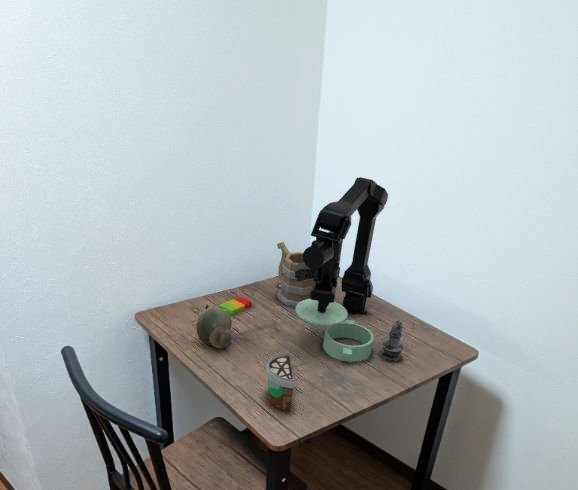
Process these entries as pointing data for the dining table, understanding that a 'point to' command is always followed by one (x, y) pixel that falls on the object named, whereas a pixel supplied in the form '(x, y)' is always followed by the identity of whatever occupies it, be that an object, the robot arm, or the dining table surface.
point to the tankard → (292, 278)
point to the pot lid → (328, 317)
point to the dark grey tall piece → (393, 343)
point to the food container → (280, 382)
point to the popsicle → (235, 305)
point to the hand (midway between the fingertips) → (321, 310)
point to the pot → (348, 351)
